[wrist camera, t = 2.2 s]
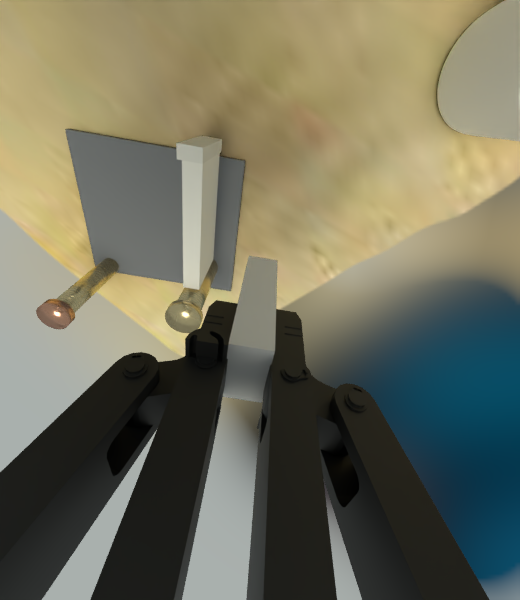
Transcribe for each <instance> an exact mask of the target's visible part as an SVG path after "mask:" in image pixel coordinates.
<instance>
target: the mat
mask: <svg viewBox="0 0 520 600" xmlns="http://www.w3.org/2000/svg"><path fill="white" fill-rule="evenodd" d="M65 130H66V135H67V140H68V144H69V149H70V153H71V158H72V162H73V167H74V171H75V176H76V180H77V185H78V190H79V194H80V199H81V203H82V208H83V212H84V217H85V221H86V226H87V230H88V235H89V240H90V244H91V249H92V253H93V258H94V262H95V266H97V265H98V264H99V263H100V262H102V261H103V260H104V259H106V258H111V259H113V260H115V261H116V262H117V263H118V265H119V270H118V271H117V273H123V274H129V275H135V276H141V277H147V278H153V279H159V280H166V281H172V282H178V283H183V213H182V160H178V159H177V152H176V148H173V147H167V146H162V145H156V144H150V143H145V142H139V141H134V140H128V139H123V138H117V137H112V136H106V135H100V134H95V133H89V132H84V131H78V130H73V129H65ZM244 168H245V160H239V159H234V158H228V157H223V156H219V173H218V190H217V207H216V223H215V240H214V257H213V260H215V261H216V263H217V265H218V271H217V273H216V275H215V278H214V280H213V283H212V285H211V288H214V289H220V290H227V291H231V287H232V278H233V269H234V260H235V251H236V241H237V232H238V223H239V214H240V205H241V196H242V186H243V177H244Z"/></svg>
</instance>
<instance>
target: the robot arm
mask: <svg viewBox="0 0 520 600" xmlns="http://www.w3.org/2000/svg"><path fill="white" fill-rule="evenodd" d="M276 296H277V260H272V259H266V258H260V257H254V256H249V257H248V262H247V266H246V270H245V275H244V279H243V283H242V288H241V292H240V296H239V301H238V304H236V303H230V302H224V301H218V300H216V301H215V302H214V303H213V304H212V305H210V306H209V308H208V311H207V314H206V316H205V319H204V323H203V324H202V327H201V329H197V330H195V331H193V332H191V333H189V335H188V336H187V337H186V339H185V344H186V356H185V357H183V358H180V359H178V360H172V361H164V362H158V361H157V360H156V358H155V357H154V356H152V355H150V354H147V353H142V352H140V353H132V354H129V355H126V356H124V357H122V358H121V359H119V360H118V361H117V362H115V364H113V365H112V366H111V367H110V368H109V369H108V370H107V371H106V372H105V373H104V374H103V375H102V376H101V377H100V378H99V379H98V380H97V381H96V382H95V383H94V384H93V385H92V386H90V387H89V388H88V389H87V390H86V391H85V392H84V393H83V394H82V395H81V396H80V397H79V398H78V399H77V400H76V401H75V402H74V403H73V404H72V405H70V406H69V407H68V408H67V409H66V410H65V411H64V412H63V413H62V414H61V415H60V416H59V417H58V418H57V419H56V420H55V421H54V422H53V423H52V424H51V425H50V426H49V427H47V428H46V429H45V430H44V431H43V432H42V433H41V434H40V435H39V436H38V437H37V438H36V439H35V440H34V441H33V442H32V443H31V444H30V445H29V446H28V447H27V448H25V449H24V451H22V452H21V453H20V454H19V455H18V456H17V457H16V458H15V459H14V460H13V461H12V462H11V463H10V464H9V465H8V466H7V467H6V468H4V470H2V471H1V472H0V600H42V598H43V597H44V595H45V594H46V592H47V591H48V590H49V588H50V587H51V585H52V584H53V582H54V581H55V579H56V578H57V576H58V575H59V573H60V572H61V570H62V569H63V567H64V566H65V564H66V563H67V561H68V560H69V558H70V557H71V555H72V554H73V553H74V551H75V550H76V548H77V547H78V545H79V544H80V542H81V541H82V539H83V538H84V536H85V535H86V533H87V532H88V530H89V529H90V527H91V526H92V524H93V523H94V521H95V520H96V518H97V517H98V515H99V514H100V512H101V511H102V510H103V508H104V507H105V505H106V503H107V502H108V501H109V499H110V498H111V496H112V495H113V493H114V492H115V490H116V489H117V487H118V486H119V484H120V483H121V481H122V480H123V479H124V477H125V475H126V474H127V473H128V471H129V469H130V468H131V467H132V465H133V464H134V462H135V461H136V459H137V458H138V456H139V455H140V453H141V452H142V450H143V449H144V447H145V446H146V444H147V443H148V441H149V440H150V439H151V437H152V436H153V434H154V432H155V431H156V430H157V431H156V434H155V437H154V439H153V442H152V444H151V447H150V449H149V452H148V454H147V457H146V459H145V462H144V465H143V467H142V470H141V472H140V475H139V478H138V480H137V482H136V485H135V488H134V490H133V493H132V495H131V498H130V500H129V503H128V505H127V508H126V511H125V513H124V516H123V518H122V521H121V523H120V526H119V528H118V531H117V534H116V536H115V539H114V541H113V544H112V547H111V549H110V552H109V554H108V556H107V559H106V562H105V564H104V567H103V569H102V572H101V574H100V577H99V579H98V582H97V584H96V587H95V590H94V592H93V595H92V597H91V600H182V595H183V591H184V586H185V581H186V576H187V571H188V566H189V562H190V557H191V552H192V547H193V542H194V537H195V532H196V527H197V522H198V518H199V512H200V508H201V503H202V498H203V493H204V488H205V483H206V478H207V473H208V469H209V463H210V458H211V454H212V449H213V444H214V439H215V433H216V429H217V424H218V419H219V415H220V409H221V401H222V397H228V398H235V399H242V400H249V401H255V402H262V400H263V406H262V412H261V415H260V419H259V423H258V426H257V428H258V429H259V440H258V452H257V465H256V479H255V492H254V506H253V520H252V533H251V547H250V561H249V574H248V587H247V600H337V596H336V587H335V578H334V569H333V560H332V552H331V543H330V534H329V525H328V516H327V507H326V498H325V489H324V482H323V478H324V481H325V485H326V488H327V491H328V494H329V497H330V500H331V503H332V506H333V509H334V513H335V516H336V519H337V522H338V525H339V528H340V531H341V534H342V537H343V541H344V544H345V546H346V550H347V553H348V556H349V559H350V562H351V565H352V569H353V572H354V575H355V578H356V581H357V584H358V587H359V590H360V594H361V597H362V600H489V598H488V597H487V595H486V593H485V591H484V590H483V588H482V586H481V584H480V583H479V581H478V579H477V577H476V576H475V574H474V572H473V571H472V569H471V567H470V565H469V564H468V562H467V560H466V558H465V557H464V555H463V553H462V551H461V550H460V548H459V546H458V544H457V543H456V541H455V539H454V538H453V536H452V534H451V532H450V530H449V529H448V527H447V525H446V524H445V522H444V520H443V518H442V517H441V515H440V513H439V512H438V510H437V508H436V506H435V504H434V503H433V501H432V499H431V498H430V496H429V494H428V492H427V491H426V489H425V487H424V485H423V484H422V482H421V480H420V478H419V477H418V475H417V473H416V471H415V470H414V468H413V466H412V464H411V463H410V461H409V459H408V457H407V456H406V454H405V453H404V451H403V449H402V447H401V445H400V444H399V442H398V440H397V438H396V437H395V435H394V433H393V432H392V430H391V428H390V426H389V425H388V423H387V421H386V419H385V418H384V416H383V414H382V412H381V411H380V409H379V407H378V405H377V404H376V402H375V400H374V399H373V398H372V397H371V395H370V394H369V393H368V392H367V391H366V390H364V389H363V388H361V387H359V386H357V385H354V384H343V385H340V386H339V387H338V388H337V389H335V388H332V387H330V386H328V385H325V384H323V383H322V382H320V381H318V380H317V379H315V378H314V377H313V376H312V375H311V373H310V371H309V369H308V368H307V367H306V364H305V354H304V344H303V333H302V323H301V319H300V318H299V316H298V315H297V314H296V312H290V311H284V310H278V309H276ZM157 428H158V429H157Z"/></svg>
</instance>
